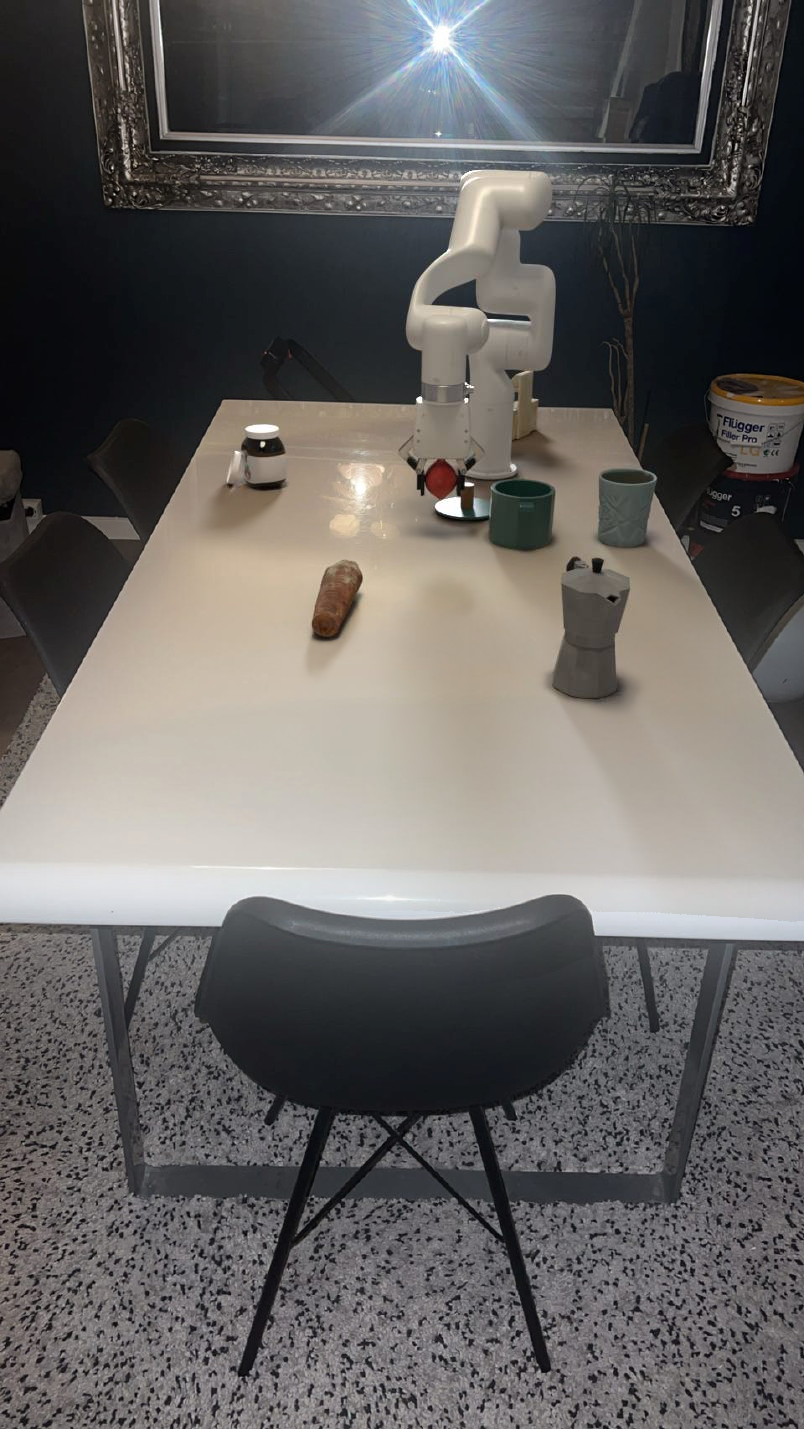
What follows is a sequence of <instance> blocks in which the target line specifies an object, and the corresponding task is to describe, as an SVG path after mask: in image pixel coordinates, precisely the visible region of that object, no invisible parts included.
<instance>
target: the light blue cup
mask: <svg viewBox="0 0 804 1429" xmlns="http://www.w3.org/2000/svg"><path fill="white" fill-rule="evenodd" d="M657 481H658V477H657V476H656V474H654V472H653V473H652V471H648V470H646V469H640V468H634V467H614V468H613V467H612V468H608V469H604V470H602V471H600V472H599V474H598V501H599V504H598V525H597V526H598V527H597V538H598V540H599V541H600V542H601V543H603V544H605V545H608V546H612V547H616V548H617V547H619V548H633V547H639V546H641V545H642V544H644V542H645V541H646V536H647V530H648V522H649V518H650V514H651V508H652V502H653V498H654V495H655V490H656V485H657Z"/></svg>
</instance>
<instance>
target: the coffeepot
mask: <svg viewBox="0 0 804 1429" xmlns="http://www.w3.org/2000/svg"><path fill="white" fill-rule="evenodd" d="M604 563H605V559H603V558H601V557H593V558H591V567H589V566H590V565H589V564H588V562H587V561H585V560H582V558H580V556H572V557H571V558H570V559H569V561H568V562H567V563H566V566H565V571H564V572H561V581H560V585H561V586H560V587H561V603H562V604H561V606H562V621H563V629H564V632H563V635H562V639H561V643H560V647H559V651H558V653H557V657H556V661H555V665H554V668H553V672H552V680H551V681H552V682H551V685H552V686H553V687H554V688H555V689H556V690H557V691H558V692H561V693H563V694H565V695H568V696H570V697H575V698H580V699H600V698H605V697H607V696H610V695H612V694H613V693H614V692H616V691H617V690H618V687H617V686H618V685H617V661H616V660H617V659H616V634H618V633H619V629H620V626H621V622H622V619H623V616H624V612H625V608H626V605H627V602H628V598H629V594H630V592H631V579H630V577H629V576H627V575H624V574H623V573H620V572H618V571H615V570H612V569H610V568H603V565H604Z"/></svg>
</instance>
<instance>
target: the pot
mask: <svg viewBox="0 0 804 1429" xmlns="http://www.w3.org/2000/svg"><path fill="white" fill-rule="evenodd" d="M556 492H557V491H556V488H555V486H553V485H551V484H550V483H547V482H544V481H540V480H536V479H529V478H528V479H527V478H514V477H513V478H511V479H502V480H500V481H496V482H494V483H493V484H492V485H491V486H490V496H489V497H490V498H489V501H490V515H489V518H488V533H487V534H488V540H489V541H490V542H491V543H492V544H494V545H495V546H498V547H502V548H506V549H511V550H512V549H513V550H522V551H523V550H536V549H541V548H544V547H547V546H548V545H549V544H550V543H551V542H552V538H553V537H552V536H553V525H554V515H555V514H554V513H555V505H556V504H555V503H556Z"/></svg>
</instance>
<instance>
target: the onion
mask: <svg viewBox="0 0 804 1429" xmlns="http://www.w3.org/2000/svg"><path fill="white" fill-rule="evenodd" d="M456 484H457V470H455V468H454V467H453V466H452V464H451V463H449V462H448V461H446V459H436V460H435V461H434V462H432V464H430V465H429V467H428V468H427V469H426V470H425V489H426V490H427V491H428V492H429V493H430V494H431V495H433V496H434V497H435V498H436V499H438V500H440V501H442V500H445V498H446V497H448V496H449V495H450V494H451V493H452V492H453V491H454V490H455V489H456Z"/></svg>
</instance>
